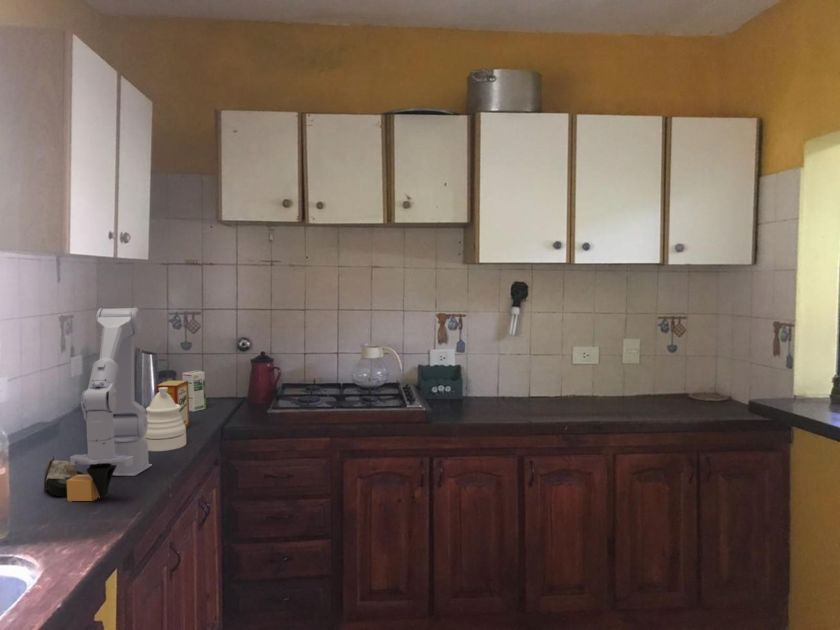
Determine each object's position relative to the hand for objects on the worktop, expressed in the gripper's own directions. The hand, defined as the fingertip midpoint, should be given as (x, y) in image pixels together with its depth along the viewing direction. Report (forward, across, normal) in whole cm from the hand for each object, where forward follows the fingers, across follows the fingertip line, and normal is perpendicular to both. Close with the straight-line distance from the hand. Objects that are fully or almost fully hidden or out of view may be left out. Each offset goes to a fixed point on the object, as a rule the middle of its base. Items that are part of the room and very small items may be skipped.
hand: (103, 494), depth 160 cm
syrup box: (+1, -20, +94) cm, 96 cm away
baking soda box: (+1, -14, +65) cm, 67 cm away
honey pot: (+1, -8, +46) cm, 47 cm away
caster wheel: (+1, -13, +5) cm, 14 cm away
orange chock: (+1, -5, 0) cm, 5 cm away
